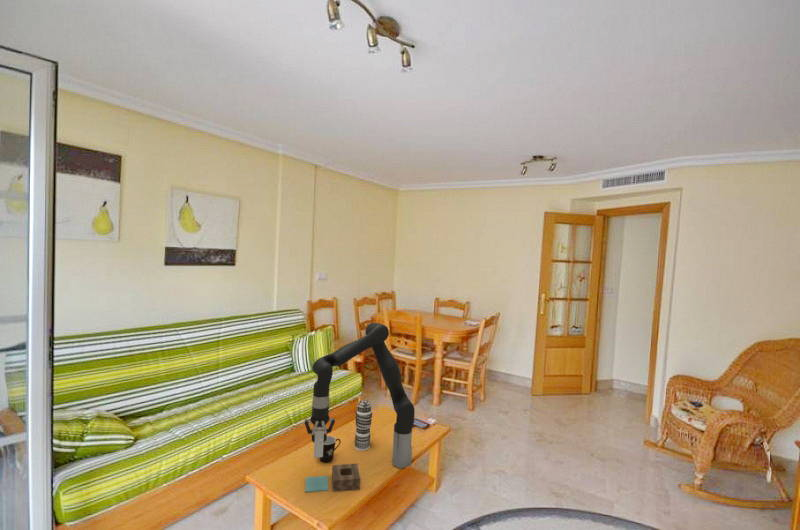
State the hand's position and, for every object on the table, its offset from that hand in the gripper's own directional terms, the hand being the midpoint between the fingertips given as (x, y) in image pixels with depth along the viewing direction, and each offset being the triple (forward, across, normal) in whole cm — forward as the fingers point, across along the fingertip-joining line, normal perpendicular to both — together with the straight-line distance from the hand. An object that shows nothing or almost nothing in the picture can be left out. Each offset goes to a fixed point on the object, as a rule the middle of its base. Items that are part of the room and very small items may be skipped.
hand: (318, 441), depth 167 cm
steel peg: (+6, 0, 0) cm, 6 cm away
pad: (+20, 0, 0) cm, 20 cm away
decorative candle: (+20, -24, -30) cm, 43 cm away
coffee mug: (+20, -6, -20) cm, 29 cm away
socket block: (+20, -13, 0) cm, 24 cm away
